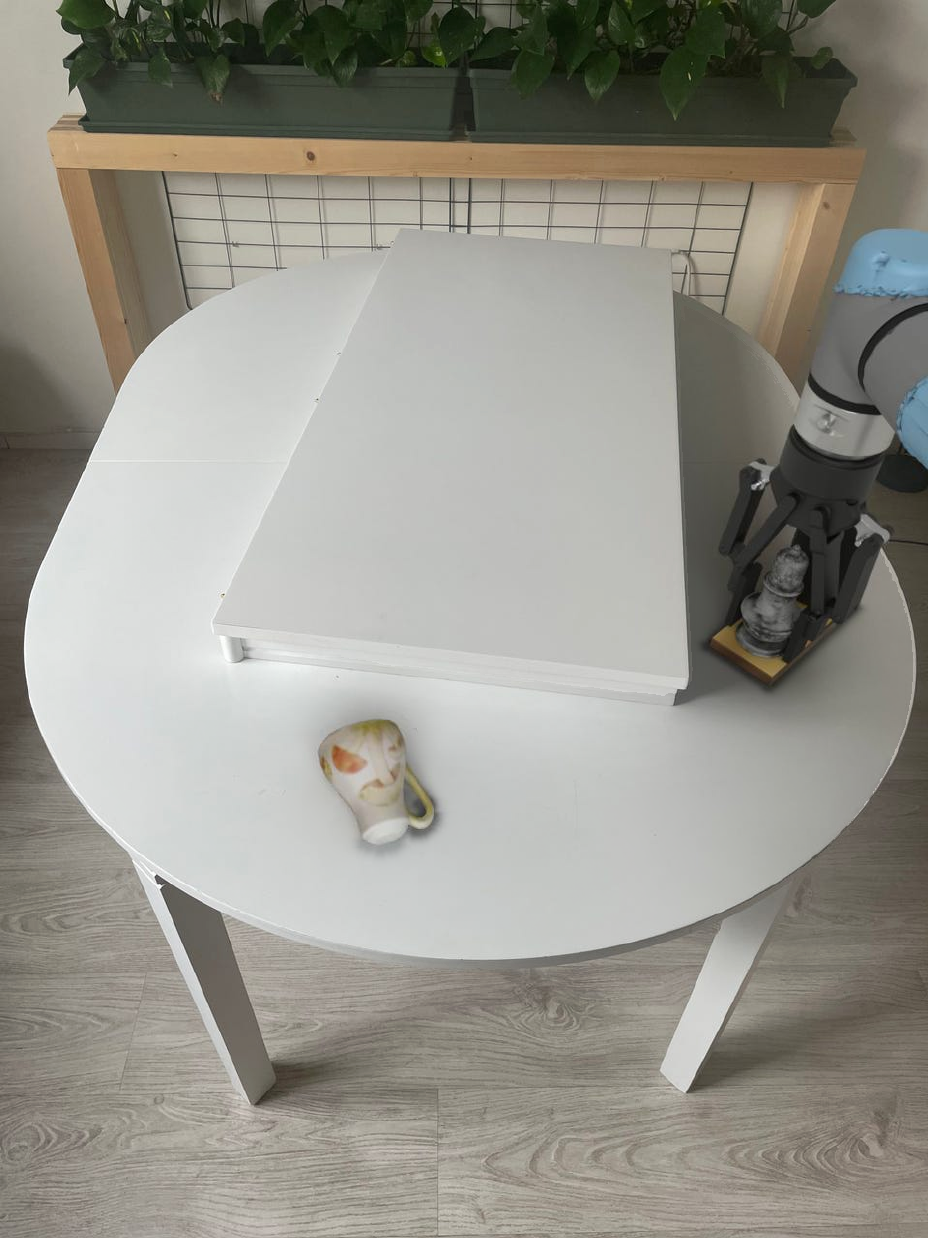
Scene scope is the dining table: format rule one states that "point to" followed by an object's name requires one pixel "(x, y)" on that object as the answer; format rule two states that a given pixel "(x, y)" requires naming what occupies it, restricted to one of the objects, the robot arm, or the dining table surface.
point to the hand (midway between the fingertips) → (763, 636)
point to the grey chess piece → (774, 606)
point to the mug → (373, 778)
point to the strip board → (756, 665)
